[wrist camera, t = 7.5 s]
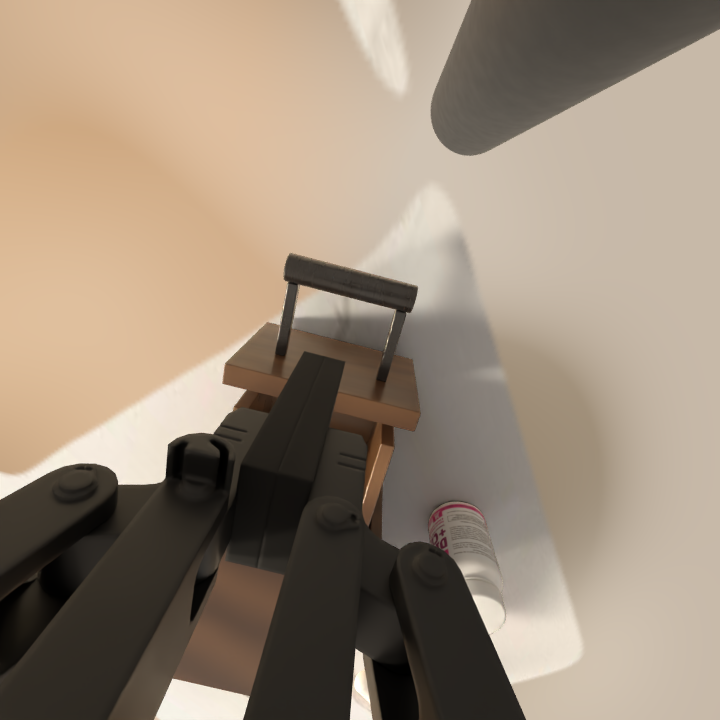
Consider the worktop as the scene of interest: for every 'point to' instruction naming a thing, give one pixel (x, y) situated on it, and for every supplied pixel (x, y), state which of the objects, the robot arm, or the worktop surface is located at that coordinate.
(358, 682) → the small white plastic part
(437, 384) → the worktop surface
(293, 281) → the drawer
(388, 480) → the worktop surface
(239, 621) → the cabinet
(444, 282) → the worktop surface
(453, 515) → the pill bottle
